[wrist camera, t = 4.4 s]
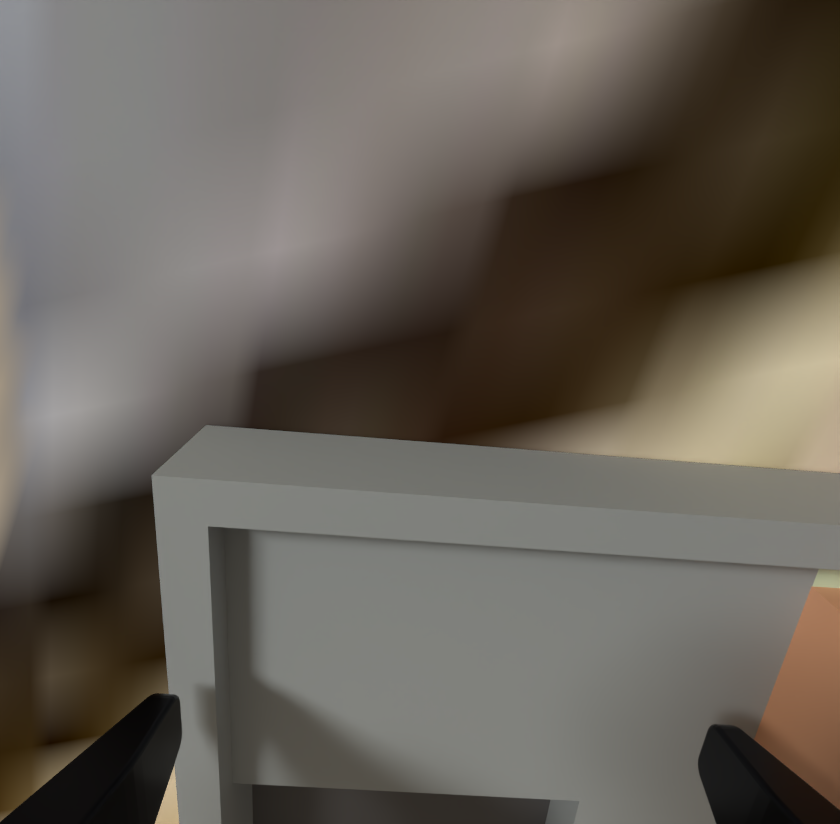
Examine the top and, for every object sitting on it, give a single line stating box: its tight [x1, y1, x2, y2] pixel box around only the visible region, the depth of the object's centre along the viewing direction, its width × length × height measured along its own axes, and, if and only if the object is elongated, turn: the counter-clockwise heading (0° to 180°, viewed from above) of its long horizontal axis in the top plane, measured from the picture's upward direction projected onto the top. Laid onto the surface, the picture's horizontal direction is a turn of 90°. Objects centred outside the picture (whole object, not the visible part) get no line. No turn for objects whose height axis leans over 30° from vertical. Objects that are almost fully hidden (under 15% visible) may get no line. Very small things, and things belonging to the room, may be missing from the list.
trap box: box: [152, 425, 840, 824], centre depth 12 cm, size 18×16×2 cm
